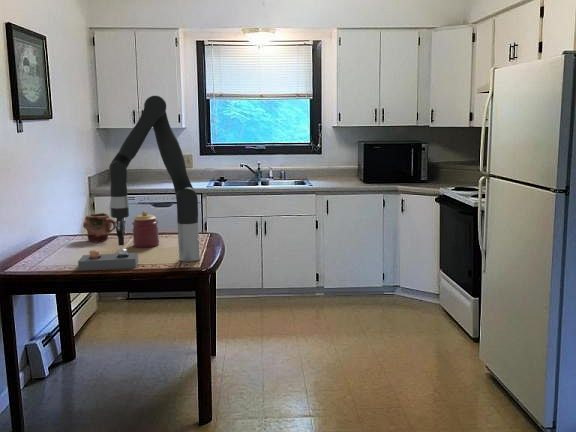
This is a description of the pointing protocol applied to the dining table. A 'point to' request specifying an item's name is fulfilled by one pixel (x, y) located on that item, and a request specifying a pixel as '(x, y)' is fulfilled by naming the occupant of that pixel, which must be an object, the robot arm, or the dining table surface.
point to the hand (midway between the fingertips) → (121, 245)
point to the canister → (145, 231)
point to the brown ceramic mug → (98, 226)
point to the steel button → (122, 252)
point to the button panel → (108, 262)
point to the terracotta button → (94, 254)
